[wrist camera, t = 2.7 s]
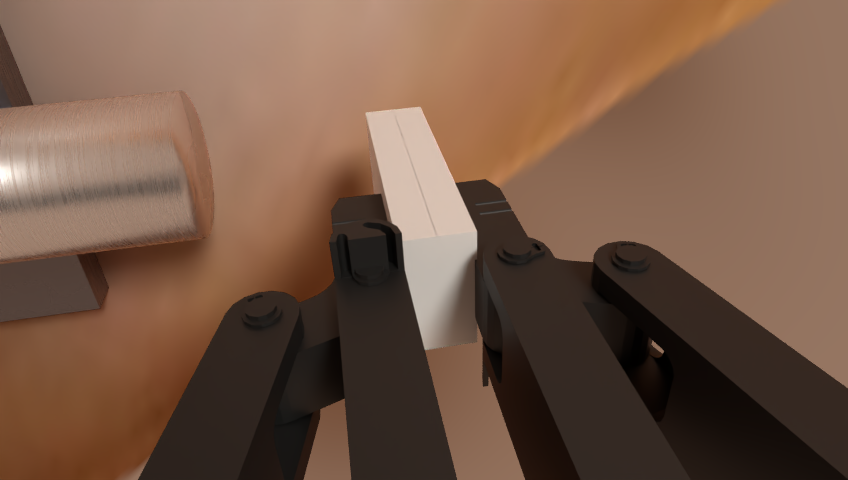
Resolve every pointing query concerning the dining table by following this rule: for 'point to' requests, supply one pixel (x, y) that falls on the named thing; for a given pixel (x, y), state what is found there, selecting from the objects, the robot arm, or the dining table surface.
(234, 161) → the dining table surface
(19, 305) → the grey mechanical fixture
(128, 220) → the air tube
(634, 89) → the dining table surface
